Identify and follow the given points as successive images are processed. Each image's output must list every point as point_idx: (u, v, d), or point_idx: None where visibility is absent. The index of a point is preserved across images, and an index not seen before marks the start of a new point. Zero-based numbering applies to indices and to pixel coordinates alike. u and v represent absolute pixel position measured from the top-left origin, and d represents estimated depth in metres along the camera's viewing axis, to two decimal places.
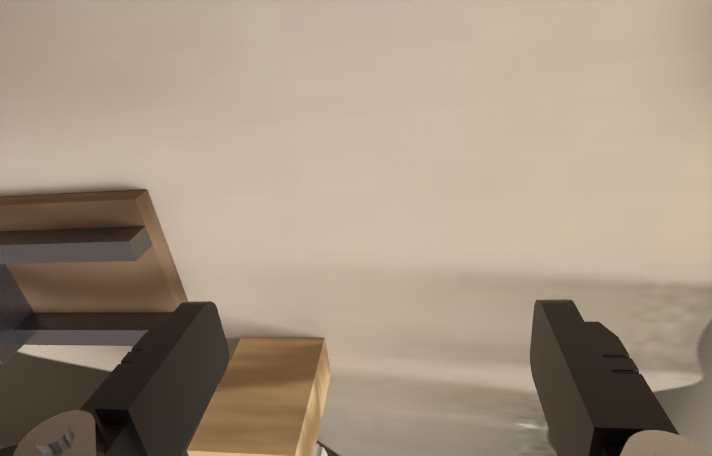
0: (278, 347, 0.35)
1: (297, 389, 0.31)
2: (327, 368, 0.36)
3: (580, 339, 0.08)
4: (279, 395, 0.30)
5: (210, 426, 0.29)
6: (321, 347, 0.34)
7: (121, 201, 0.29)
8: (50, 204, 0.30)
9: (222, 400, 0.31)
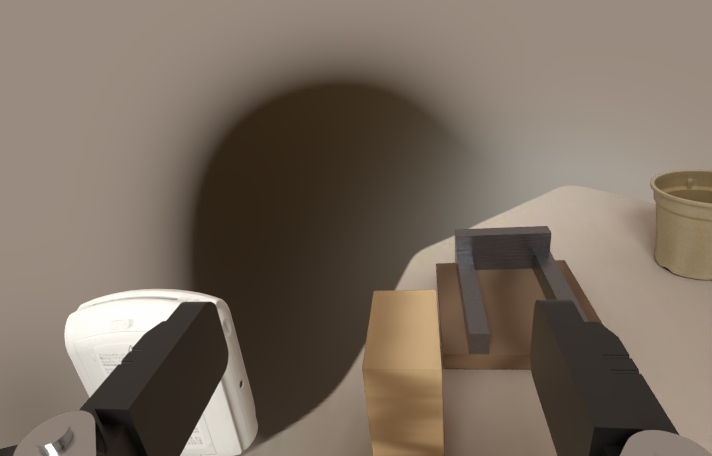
0: None
1: None
2: None
3: (580, 339, 0.08)
4: None
5: None
6: None
7: None
8: (589, 304, 0.38)
9: None
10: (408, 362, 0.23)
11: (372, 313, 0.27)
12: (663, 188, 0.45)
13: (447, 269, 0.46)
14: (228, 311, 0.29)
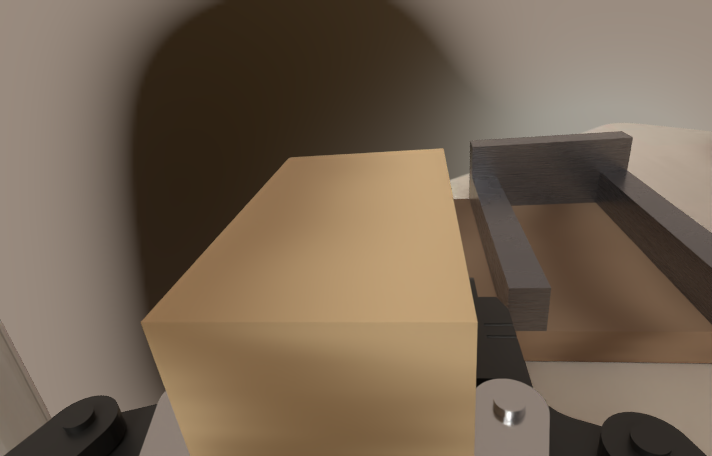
0: None
1: None
2: None
3: None
4: None
5: None
6: None
7: None
8: None
9: None
10: (336, 297, 0.05)
11: (265, 189, 0.09)
12: None
13: (457, 206, 0.29)
14: None
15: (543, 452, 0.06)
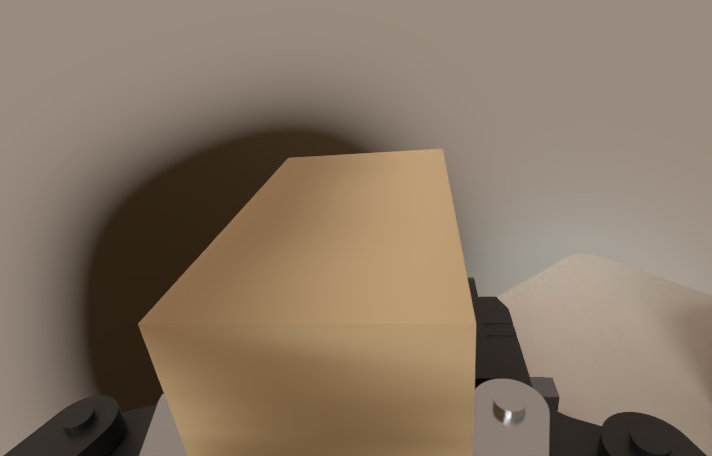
0: None
1: None
2: None
3: None
4: None
5: None
6: None
7: None
8: None
9: None
10: (334, 299, 0.05)
11: (264, 189, 0.09)
12: None
13: None
14: None
15: (543, 452, 0.06)
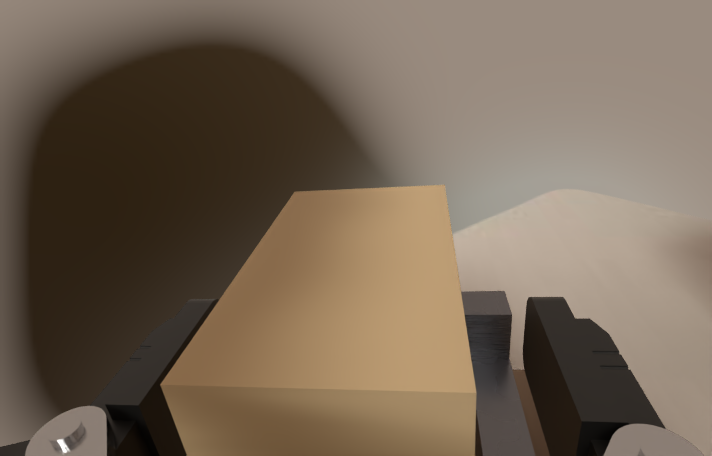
0: None
1: None
2: None
3: (570, 335, 0.09)
4: None
5: None
6: None
7: None
8: None
9: None
10: (344, 360, 0.06)
11: (273, 230, 0.10)
12: None
13: None
14: None
15: None
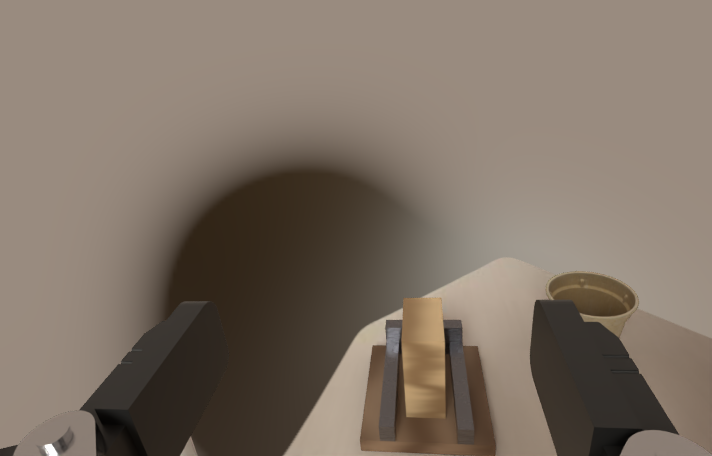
0: None
1: None
2: (419, 412, 0.45)
3: (580, 339, 0.08)
4: None
5: None
6: (445, 410, 0.45)
7: (492, 436, 0.43)
8: (485, 394, 0.47)
9: None
10: (426, 337, 0.41)
11: (404, 311, 0.46)
12: (560, 286, 0.54)
13: (380, 351, 0.55)
14: None
15: None
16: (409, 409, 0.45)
